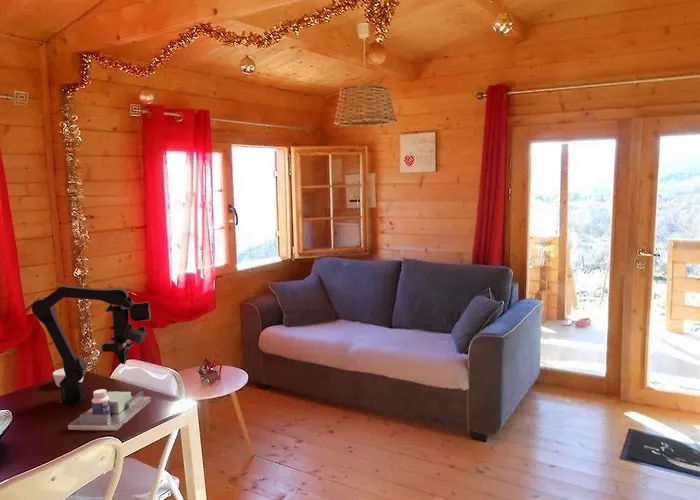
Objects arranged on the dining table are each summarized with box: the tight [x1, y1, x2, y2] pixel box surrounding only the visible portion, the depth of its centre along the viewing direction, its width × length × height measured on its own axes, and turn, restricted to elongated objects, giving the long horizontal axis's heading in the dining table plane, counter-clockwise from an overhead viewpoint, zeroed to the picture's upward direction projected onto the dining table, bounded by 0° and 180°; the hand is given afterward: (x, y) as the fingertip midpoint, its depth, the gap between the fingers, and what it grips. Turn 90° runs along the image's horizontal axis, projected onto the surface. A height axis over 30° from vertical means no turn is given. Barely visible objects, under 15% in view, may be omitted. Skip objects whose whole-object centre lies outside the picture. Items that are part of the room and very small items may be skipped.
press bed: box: [67, 390, 152, 432], centre depth 190 cm, size 16×25×4 cm, turn 175°
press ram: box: [106, 391, 132, 413], centre depth 191 cm, size 8×10×4 cm
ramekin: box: [52, 367, 85, 388], centre depth 222 cm, size 11×11×5 cm
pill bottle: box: [91, 389, 110, 413], centre depth 183 cm, size 5×5×9 cm
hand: (123, 363), depth 207 cm, fingers closed
